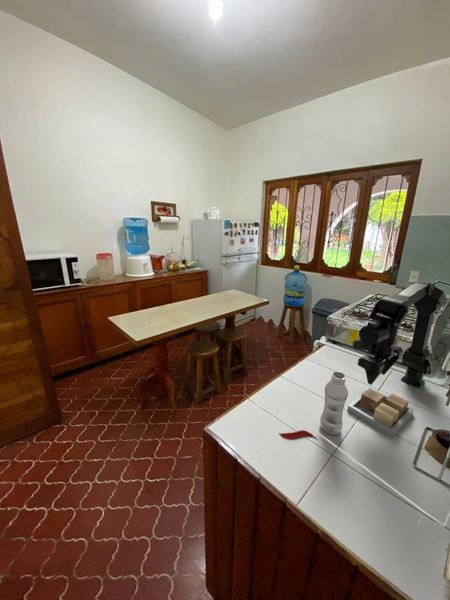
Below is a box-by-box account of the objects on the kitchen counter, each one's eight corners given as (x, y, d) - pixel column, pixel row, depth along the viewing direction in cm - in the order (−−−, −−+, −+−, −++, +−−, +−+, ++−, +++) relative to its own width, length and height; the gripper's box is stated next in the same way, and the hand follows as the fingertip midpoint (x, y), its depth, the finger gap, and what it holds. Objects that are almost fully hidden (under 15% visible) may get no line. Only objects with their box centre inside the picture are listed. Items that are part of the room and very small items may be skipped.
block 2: (379, 414, 83) (381, 402, 82) (395, 424, 79) (399, 411, 78) (372, 421, 80) (374, 409, 79) (389, 431, 76) (392, 418, 75)
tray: (369, 393, 94) (370, 387, 94) (412, 415, 84) (413, 409, 83) (347, 411, 85) (348, 405, 85) (392, 438, 75) (393, 432, 74)
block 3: (389, 404, 88) (392, 393, 86) (405, 413, 84) (408, 401, 82) (383, 411, 85) (385, 398, 83) (399, 419, 81) (403, 407, 79)
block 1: (381, 408, 86) (383, 396, 85) (374, 414, 83) (377, 401, 82) (366, 400, 90) (368, 388, 88) (359, 405, 87) (361, 393, 86)
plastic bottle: (340, 424, 80) (349, 370, 74) (342, 441, 74) (352, 384, 68) (318, 419, 82) (326, 366, 76) (319, 435, 76) (327, 379, 70)
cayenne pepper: (318, 435, 76) (318, 430, 76) (318, 447, 72) (319, 442, 72) (278, 425, 80) (279, 421, 79) (276, 437, 76) (277, 432, 75)
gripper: (372, 322, 90) (365, 359, 95) (345, 335, 79) (338, 377, 84) (408, 332, 81) (398, 373, 86) (382, 349, 71) (372, 394, 76)
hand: (376, 378), depth 83 cm, fingers open, 9 cm apart
